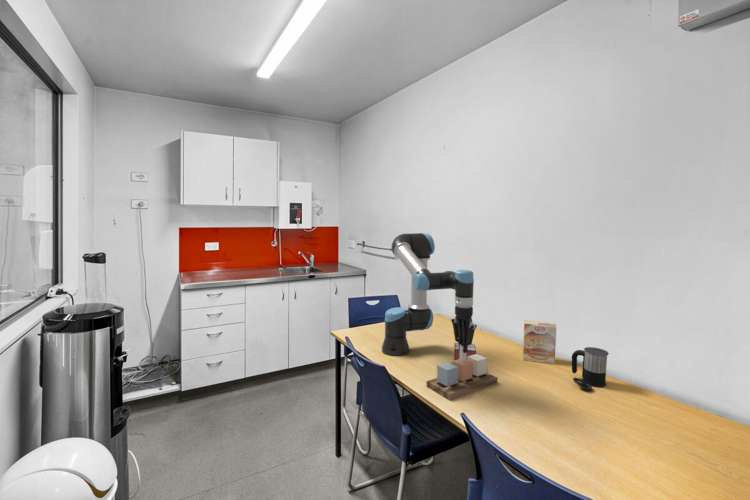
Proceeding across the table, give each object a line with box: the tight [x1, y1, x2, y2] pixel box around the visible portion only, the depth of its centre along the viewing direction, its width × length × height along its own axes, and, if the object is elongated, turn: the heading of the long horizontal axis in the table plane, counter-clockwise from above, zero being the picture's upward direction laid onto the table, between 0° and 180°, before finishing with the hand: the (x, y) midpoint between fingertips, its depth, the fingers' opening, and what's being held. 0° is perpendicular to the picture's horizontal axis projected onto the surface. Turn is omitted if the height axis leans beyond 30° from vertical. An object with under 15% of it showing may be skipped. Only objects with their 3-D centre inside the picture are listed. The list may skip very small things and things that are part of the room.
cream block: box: [467, 353, 488, 377], centre depth 163 cm, size 6×6×7 cm
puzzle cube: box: [453, 342, 477, 361], centre depth 179 cm, size 10×10×10 cm
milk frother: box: [571, 346, 610, 391], centre depth 158 cm, size 14×16×15 cm
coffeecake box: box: [522, 319, 557, 365], centre depth 186 cm, size 15×7×20 cm, turn 68°
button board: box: [426, 372, 498, 401], centre depth 159 cm, size 14×29×2 cm, turn 122°
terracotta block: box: [452, 359, 474, 382], centre depth 159 cm, size 6×6×7 cm
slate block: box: [436, 361, 459, 387], centre depth 154 cm, size 6×6×7 cm
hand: (462, 359), depth 158 cm, fingers closed
